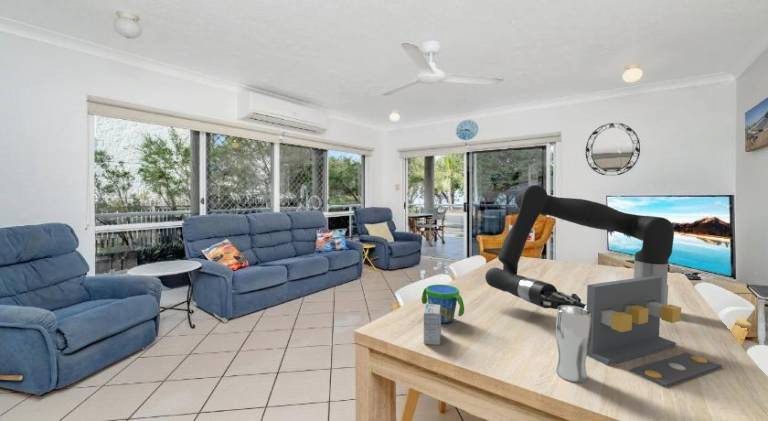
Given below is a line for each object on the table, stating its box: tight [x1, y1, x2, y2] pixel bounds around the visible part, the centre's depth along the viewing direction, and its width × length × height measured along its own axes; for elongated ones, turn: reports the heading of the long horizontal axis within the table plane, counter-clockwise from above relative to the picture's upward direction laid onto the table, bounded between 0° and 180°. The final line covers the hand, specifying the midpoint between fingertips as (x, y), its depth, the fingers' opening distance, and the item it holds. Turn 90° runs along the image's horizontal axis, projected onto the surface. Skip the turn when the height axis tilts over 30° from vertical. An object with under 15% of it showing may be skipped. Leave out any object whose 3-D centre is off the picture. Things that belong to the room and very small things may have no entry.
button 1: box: [584, 303, 632, 332], centre depth 84 cm, size 4×10×4 cm, turn 22°
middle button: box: [624, 305, 648, 324], centre depth 89 cm, size 4×10×4 cm, turn 22°
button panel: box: [586, 276, 677, 367], centre depth 89 cm, size 27×10×18 cm, turn 112°
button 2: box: [646, 301, 682, 324], centre depth 90 cm, size 4×10×4 cm, turn 22°
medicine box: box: [423, 303, 442, 346], centre depth 93 cm, size 8×4×9 cm, turn 168°
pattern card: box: [630, 351, 723, 388], centre depth 78 cm, size 22×7×1 cm, turn 112°
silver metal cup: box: [555, 305, 592, 384], centre depth 75 cm, size 7×7×15 cm
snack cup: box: [421, 284, 465, 324], centre depth 107 cm, size 16×10×10 cm
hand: (588, 310), depth 89 cm, fingers closed
